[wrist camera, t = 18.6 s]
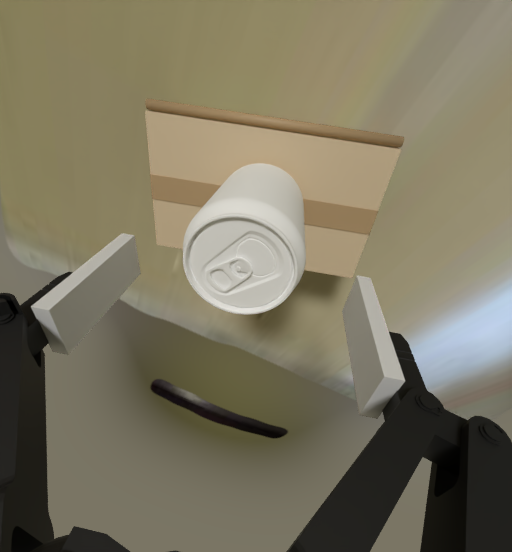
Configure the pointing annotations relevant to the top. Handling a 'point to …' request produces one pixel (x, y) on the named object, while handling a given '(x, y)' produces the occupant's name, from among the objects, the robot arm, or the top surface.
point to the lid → (281, 153)
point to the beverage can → (248, 241)
